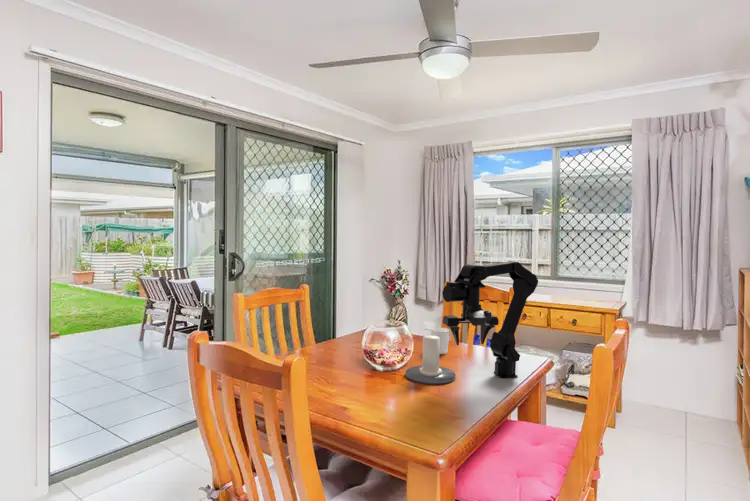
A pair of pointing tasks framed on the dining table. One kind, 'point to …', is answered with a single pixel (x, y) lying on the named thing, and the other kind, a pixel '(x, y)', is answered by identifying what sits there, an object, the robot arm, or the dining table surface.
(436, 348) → the white flanged cylinder
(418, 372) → the hub plate
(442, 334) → the white cup
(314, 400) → the dining table surface
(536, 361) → the dining table surface
